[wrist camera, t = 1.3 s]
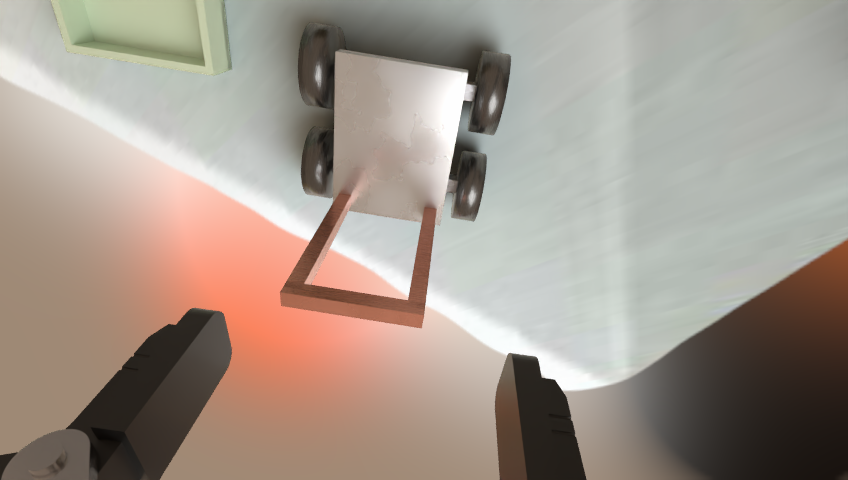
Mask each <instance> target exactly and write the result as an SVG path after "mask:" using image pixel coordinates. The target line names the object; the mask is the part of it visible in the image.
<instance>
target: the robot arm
mask: <svg viewBox="0 0 848 480" xmlns="http://www.w3.org/2000/svg"><path fill="white" fill-rule="evenodd" d="M231 354H232V349H231V343H230V339H229V335H228V331H227V326H226V321H225V317H224V314H223V313H222V312H220V311H213V310H205V309H199V308H192V309H190V310H189V311H188V312H187V313H186V314H185V315H184V316H183V317H182V318H181V320H180V321H179V322H178V323H177V324H176V325H171V324H168V325H167V326H165V327H163V328H162V329H160V330H159V331H157V332H156V333H154V334H153V335H151V336H150V337H148V338H147V339H146V341H145V342H144V343H143V344H142V345H141V346H140V347H139V348H138V350H137V351H136V352H135V353H134V356H133V357H131V358H130V359H129V360H128V361H127V362H126V363H125V364H124V365H123V366H122V370H119V371H118V372H117V373H116V374H115V375H114V377H113V378H112V379H111V380H110V381H109V382H108V383H107V384H106V385H105V387H104V388H103V389H102V390H101V391H100V392H99V393H98V394H97V396H96V397H95V398H94V399H93V400H92V401H91V402H90V403H89V405H88V406H87V407H86V408H85V409H84V410H83V411H82V412H81V414H80V415H79V416H78V417H77V418H76V419H75V420H74V421H73V422H72V423H71V424H70V425H69V426H68V427H67V428H66V429H64V430H58V431H55V432H51V433H49V434H46V435H44V436H42V437H40V438H38V439H36V440H35V441H33V442H31V443H30V444H28V445H27V446H25V447H24V448H23V449H21V450H20V451H19V452H17V453H11V454H5V455H0V480H160V478H161V476H162V475H163V473H164V471H165V470H166V468H167V467H168V465H169V463H170V462H171V460H172V458H173V457H174V455H175V454H176V452H177V450H178V449H179V447H180V445H181V444H182V442H183V441H184V439H185V437H186V436H187V434H188V432H189V431H190V429H191V427H192V426H193V424H194V423H195V421H196V419H197V418H198V416H199V414H200V413H201V411H202V410H203V408H204V406H205V405H206V403H207V401H208V400H209V398H210V397H211V395H212V393H213V392H214V390H215V388H216V387H217V385H218V384H219V382H220V380H221V379H222V377H223V375H224V374H225V372H226V370H227V368H228V366H229V363H230V360H231ZM495 415H496V429H497V444H498V458H499V473H500V480H586V476H585V472H584V468H583V464H582V460H581V455H580V451H579V447H578V443H577V439H576V437H575V430H574V426H573V422H572V421H571V414H570V410H569V406H568V401H567V398H566V396H565V394H564V393H563V391H562V390H561V388H560V387H559V385H558V384H557V382H556V381H555V380H553V379H546V378H542V377H541V372H540V366H539V362H538V359H537V357H534V356H527V355H520V354H512V353H509V354H508V356H507V358H506V362H505V364H504V368H503V371H502V374H501V377H500V380H499V383H498V386H497V391H496V399H495Z"/></svg>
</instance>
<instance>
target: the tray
mask: <svg viewBox="0 0 848 480" xmlns="http://www.w3.org/2000/svg"><path fill="white" fill-rule="evenodd" d="M51 3H52V6H53V9H54V13H55V16H56V19H57V22H58V25H59V28H60V32H61V35H62V38H63V41H64V44H65V47H66V51H67V52H71V53H77V54H83V55H89V56H95V57H102V58H108V59H114V60H120V61H126V62H132V63H138V64H145V65H151V66H157V67H163V68H169V69H175V70H181V71H188V72H194V73H200V74H206V75H212V76H215V75H217V74H220V73H223V72H226V71H228V70H231V69H232V66H231V57H230V49H229V40H228V31H227V22H226V13H225V5H224V0H51Z"/></svg>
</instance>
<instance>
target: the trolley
mask: <svg viewBox="0 0 848 480" xmlns="http://www.w3.org/2000/svg"><path fill="white" fill-rule="evenodd" d="M510 66H511V56H510V55H509V54H503V53H497V52H490V51H484V50H483V51H482V54H481V57H480V61H479V65H478V69H477V74H476V79H475V82H470V81H467V77H468V70H465V69H459V68H453V67H447V66H441V65H434V64H428V63H422V62H416V61H410V60H404V59H398V58H392V57H385V56H379V55H373V54H367V53H361V52H355V51H349V50H346V46H345V38H344V34H343V31H342V29H341V28H340V27H338V26H331V25H325V24H319V23H313V22H311V23H309V24H308V25H307V26H306V28H305V30H304V32H303V35H302V39H301V43H300V49H299V58H298V78H299V87H300V92H301V96H302V98H303V100H304V102H305V103H306V104H307V105H310V106H316V107H322V108H328V109H334V129H328V128H322V127H313V128H312V129H311V130H310V132H309V134H308V136H307V138H306V141H305V145H304V150H303V155H302V164H301V179H302V186H303V189H304V191H305V193H306V194H308V195H314V196H320V197H326V198H332V197H333V204H332V206H331V208H330V209H329V211H328V213H327V214H326V216H325V218H324V219H323V221H322V223H321V224H320V226H319V228H318V229H317V231H316V233H315V234H314V236H313V238H312V239H311V241H310V243H309V245H308V246H307V248H306V250H305V251H304V253H303V255H302V256H301V258H300V260H299V261H298V263H297V265H296V267H295V268H294V270H293V272H292V273H291V275H290V277H289V278H288V280H287V282H286V283H285V285H284V287H283V288H282V290H281V292H280V295H281V306H286V307H292V308H298V309H304V310H311V311H317V312H323V313H329V314H336V315H342V316H348V317H355V318H360V319H367V320H373V321H379V322H385V323H392V324H398V325H405V326H411V327H417V328H422V323H423V318H424V311H425V303H426V294H427V286H428V278H429V269H430V261H431V253H432V244H433V236H434V228H435V225H440V222H441V217H442V212H443V206H444V201H445V195H446V192H450V193H453V200H452V208H451V218H456V219H462V220H469V221H474V220H475V219H476V216H477V213H478V210H479V206H480V202H481V198H482V193H483V187H484V181H485V174H486V163H487V157H486V154H482V153H476V152H469V151H462V153H461V157H460V161H459V166H458V170H457V175H452V174H450V168H451V163H452V158H453V152H454V147H455V141H456V136H457V131H458V125H459V120H460V115H461V109H462V104H463V100H466V101H471V106H470V113H469V120H468V131H470V132H476V133H482V134H488V135H494V134H495V132H496V130H497V127H498V124H499V121H500V118H501V114H502V110H503V106H504V102H505V98H506V93H507V88H508V82H509V75H510ZM348 211H353V212H360V213H366V214H372V215H378V216H384V217H391V218H397V219H403V220H409V221H415V222H422V224H421V230H420V236H419V241H418V247H417V253H416V258H415V264H414V270H413V276H412V281H411V287H410V293H409V298H408V300H402V299H396V298H389V297H383V296H377V295H371V294H365V293H358V292H352V291H346V290H340V289H333V288H327V287H321V286H315V285H311V283H312V281H313V279H314V277H315V276H316V273H317V272H318V270H319V268H320V265H321V264H322V262H323V260H324V257H325V256H326V254H327V252H328V250H329V248H330V246H331V244H332V242H333V240H334V238H335V236H336V234H337V232H338V230H339V228H340V226H341V224H342V222H343V220H344V218H345V216H346V214H347V212H348Z"/></svg>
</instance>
